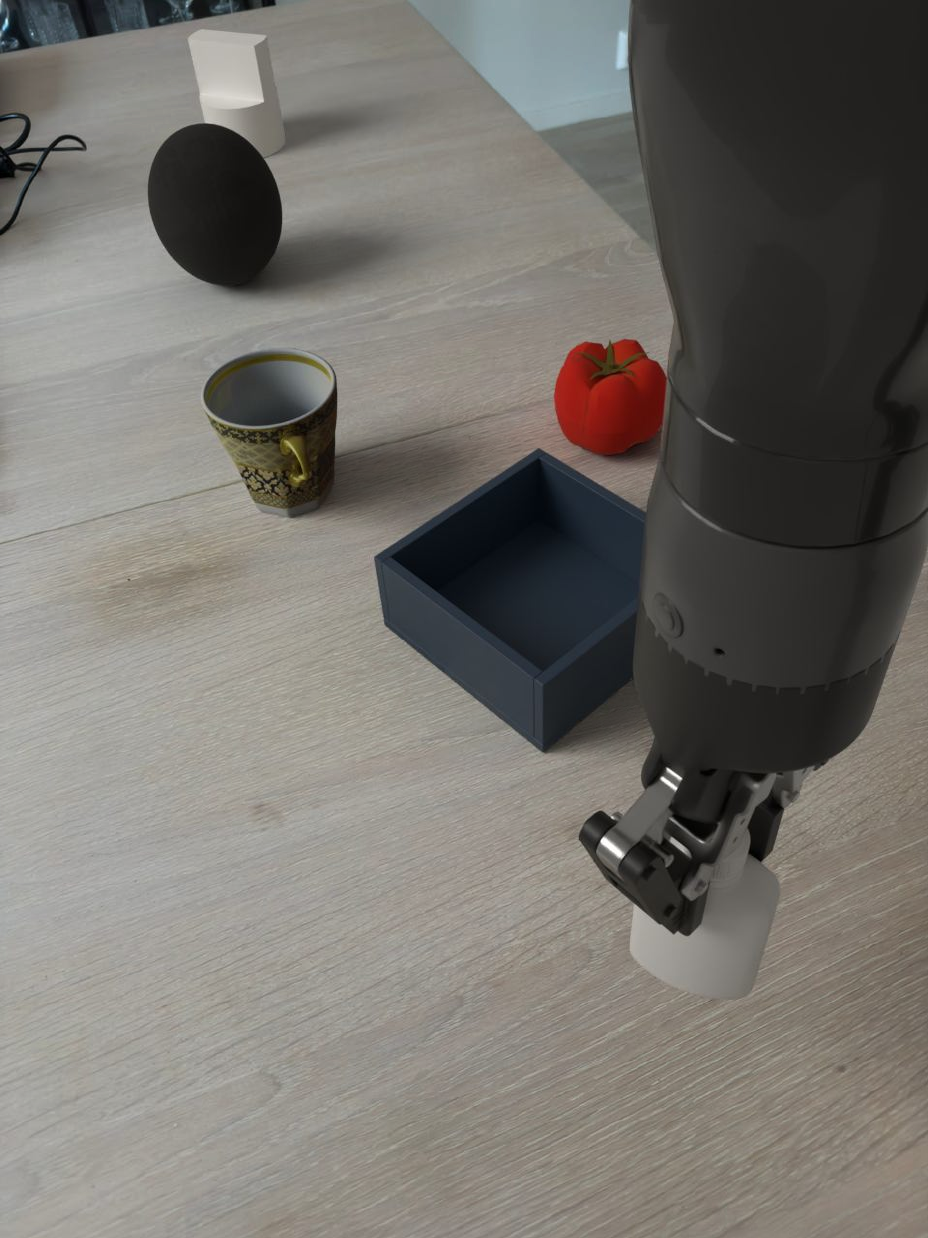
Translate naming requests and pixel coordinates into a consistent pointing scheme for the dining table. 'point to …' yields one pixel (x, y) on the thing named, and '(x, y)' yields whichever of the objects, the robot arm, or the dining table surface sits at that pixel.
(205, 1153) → the dining table surface
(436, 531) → the bin
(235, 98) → the base with upright slab
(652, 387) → the tomato
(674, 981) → the eye dropper bottle
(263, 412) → the ceramic cup
